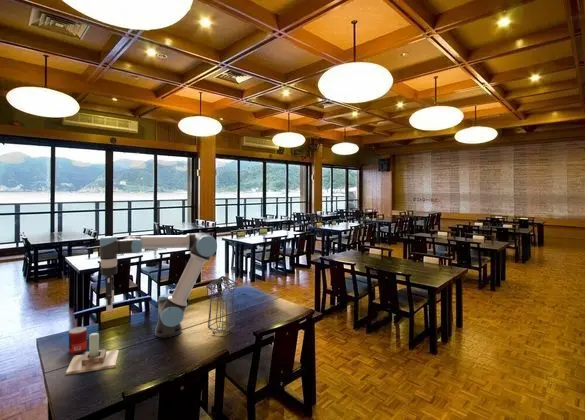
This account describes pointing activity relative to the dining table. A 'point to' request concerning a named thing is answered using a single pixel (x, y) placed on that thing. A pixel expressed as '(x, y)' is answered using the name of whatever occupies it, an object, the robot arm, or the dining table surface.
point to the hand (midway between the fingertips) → (110, 306)
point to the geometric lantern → (223, 302)
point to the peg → (94, 345)
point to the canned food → (77, 339)
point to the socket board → (104, 365)
